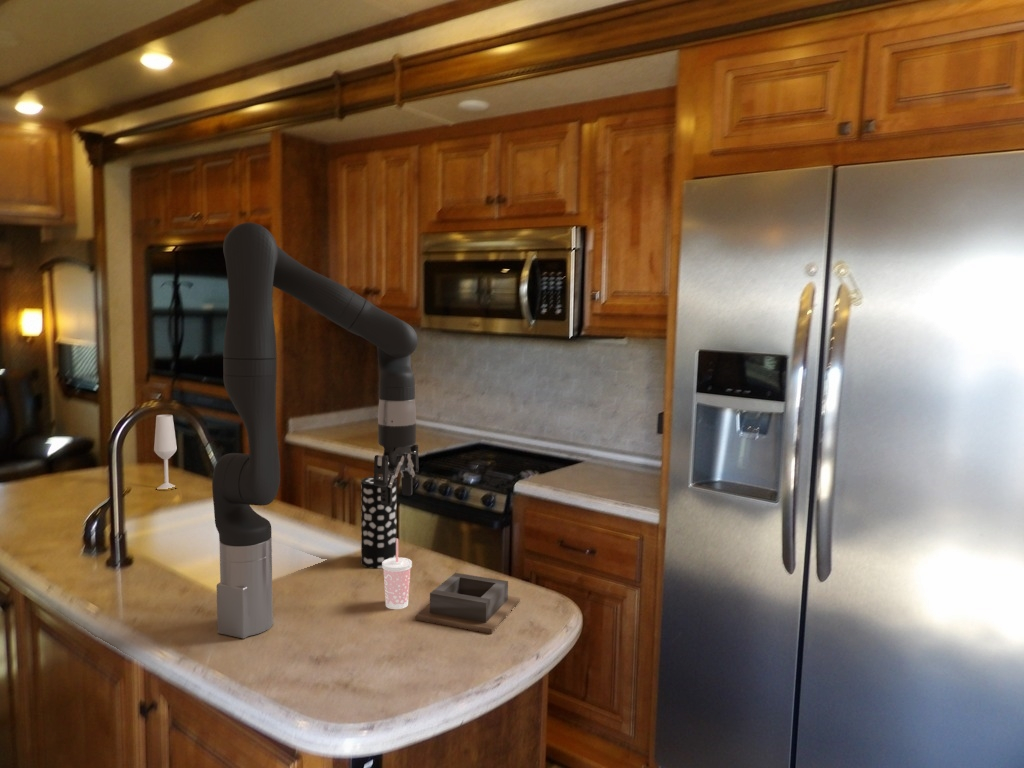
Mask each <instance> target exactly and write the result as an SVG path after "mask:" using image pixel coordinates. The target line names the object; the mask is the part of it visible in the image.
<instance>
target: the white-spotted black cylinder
mask: <svg viewBox="0 0 1024 768" xmlns="http://www.w3.org/2000/svg"><path fill="white" fill-rule="evenodd" d="M380 477H381V475H379V480H380ZM388 480H389V477H388ZM360 493H361V494H360V496H361V497H360V500H361V501H360V505H361V506H360V510H361V511H360V516H361V517H360V519H361V520H360V523H361V524H360V526H361V529H360V531H361V533H360V534H361V535H360V536H361V539H360V540H361V541H360V545H361V547H360V548H361V552H360V553H361V554H360V555H361V556H360V558H361V559H360V560H361V565H362V566H363V567H366V568H369V569H383V568H382V562H383V561H384V560H386V559H389V558H396V538H397V537H398V528H397V527H398V526H397V524H398V519H397V518H398V516H397V514H398V511H397V510H398V506H397V505H398V479H397V478H395V479H394V481H393V484H392V505H391V506H383V505H381V488H380V487H379V486H375V485H374V476H367V477H364V478H362V479H361V480H360Z"/></svg>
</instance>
